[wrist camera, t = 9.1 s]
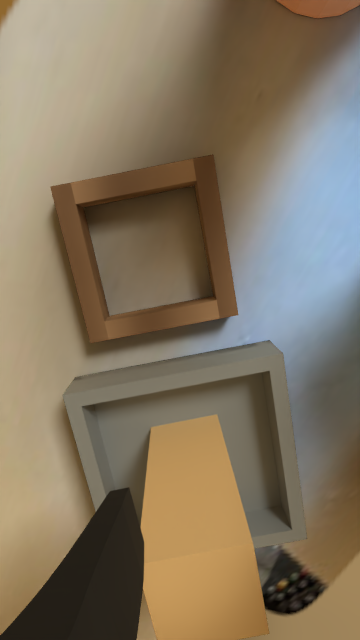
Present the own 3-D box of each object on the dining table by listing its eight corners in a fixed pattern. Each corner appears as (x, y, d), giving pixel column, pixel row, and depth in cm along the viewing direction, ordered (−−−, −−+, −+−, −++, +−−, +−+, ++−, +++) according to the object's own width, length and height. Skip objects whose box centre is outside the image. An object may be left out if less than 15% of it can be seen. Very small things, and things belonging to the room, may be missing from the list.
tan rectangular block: (217, 414, 20) (252, 542, 12) (228, 472, 21) (269, 633, 12) (151, 427, 20) (136, 565, 12) (164, 484, 21) (160, 654, 12)
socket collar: (209, 161, 18) (213, 154, 16) (233, 309, 20) (238, 315, 18) (60, 191, 18) (50, 186, 17) (96, 335, 20) (90, 343, 18)
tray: (269, 340, 20) (282, 353, 18) (292, 507, 23) (307, 538, 20) (75, 377, 20) (62, 395, 18) (119, 539, 23) (113, 574, 20)
